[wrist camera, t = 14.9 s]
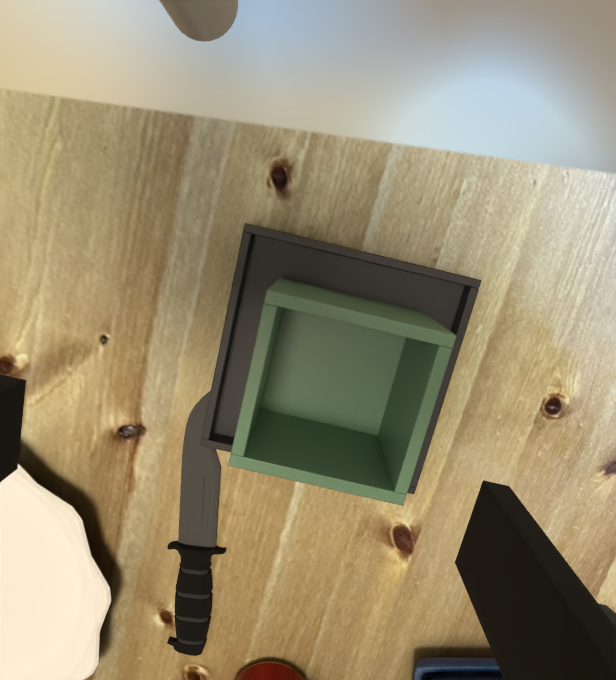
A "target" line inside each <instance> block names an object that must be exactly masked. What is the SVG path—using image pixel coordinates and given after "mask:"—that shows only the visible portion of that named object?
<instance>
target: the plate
mask: <svg viewBox="0 0 616 680" xmlns="http://www.w3.org/2000/svg"><path fill="white" fill-rule="evenodd" d="M111 601H112V595H111V586H110V584H109V582H108V581H107V579H106V577H105V576H104V574H103V572H102V570H101V569H100V567H99V565H98V563H97V562H96V560H95V558H94V556H93V555H92V552H91V548H90V544H89V540H88V536H87V532H86V528H85V524H84V520H83V518H82V516H81V515H80V514H79V512H78V511H77V510H76V508H75V507H74V506H73V505H72V504H70V503H69V502H67V501H66V500H64V499H63V498H61V497H60V496H58V495H57V494H55V493H54V492H52V491H51V490H49V489H47V488H46V487H44V486H43V485H41V484H40V483H38V482H37V481H36V480H35V478H34V477H33V476H32V475H31V474H30V473H29V472H28V471H27V470H26V469H25V468H24V467H23V466H22V465H21V464H20V463H19V462H18V469H17V470H15V471H14V472H13V473H12V474H10V475H9V476H8V477H6V478H5V479H4V480H3V481H1V482H0V680H84V679H86V678H87V677H89V676H90V675H92V674H93V672H94V670H95V669H96V667H97V665H98V664H99V657H100V630H101V627H102V625H103V622H104V619H105V617H106V614H107V611H108V609H109V606H110V603H111Z"/></svg>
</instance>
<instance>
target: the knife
mask: <svg viewBox="0 0 616 680" xmlns="http://www.w3.org/2000/svg"><path fill="white" fill-rule="evenodd" d="M210 393H211V391H210V392H209V393H207V394H206V395H205V396H204V397H203V398H202V399H201V400H200V401H199V402H198V403H197V404H196V405H195V407H194V408H193V410H192V411H191V413H190V416H189V418H188V422H187V426H186V431H185V437H184V445H183V455H182V474H181V496H180V519H179V541H173V542H171V543H169V545H168V547H167V548H168V549H176V550H178V552H179V554H180V556H181V563H180V569H179V574H178V579H177V584H176V590H177V591H176V594H175V626H176V635H177V638H174V637H169V640H168V642H167V643H168V644H170V645H172V646H174V649H175V650H176V651H177V652H180V653H183V654H187V655H193V656H196V655H200V654H201V653H202V651H203V648H204V645H205V642H206V639H207V638H206V635H207V632H208V627H209V623H210V618H211V616H210V614H211V608H212V593H211V592H212V589H213V585H212V574H211V569H210V566H211V561H210V560H211V556H212V555H213V554H224V553H225V551H226V548H222V547H218V546H216V533H217V518H218V502H219V486H220V470H221V467H220V464H219V461H218V458H217V455H216V452H215V449H214V448H210V447H206V446H201V445H200V443H201V439H202V433H203V428H204V423H205V418H206V413H207V408H208V403H209V398H210Z"/></svg>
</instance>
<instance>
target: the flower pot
mask: <svg viewBox="0 0 616 680" xmlns="http://www.w3.org/2000/svg"><path fill="white" fill-rule="evenodd" d="M414 680H504V678H503V676H502V674H501V671H500V669H499V666H498V664H497V662H496V659H495V658H471V657H427V658H422V659H421V660H419V661H418V662H417V664H416V666H415V672H414Z"/></svg>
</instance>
